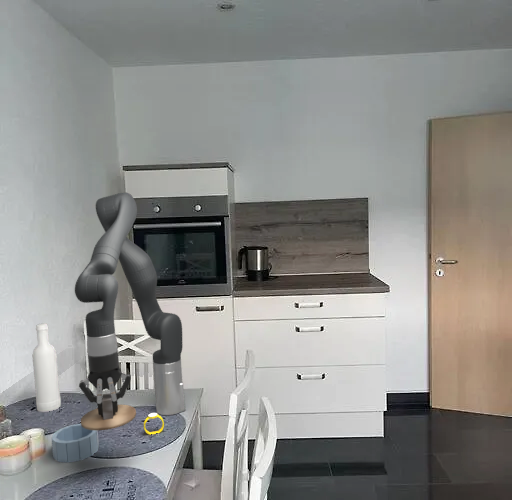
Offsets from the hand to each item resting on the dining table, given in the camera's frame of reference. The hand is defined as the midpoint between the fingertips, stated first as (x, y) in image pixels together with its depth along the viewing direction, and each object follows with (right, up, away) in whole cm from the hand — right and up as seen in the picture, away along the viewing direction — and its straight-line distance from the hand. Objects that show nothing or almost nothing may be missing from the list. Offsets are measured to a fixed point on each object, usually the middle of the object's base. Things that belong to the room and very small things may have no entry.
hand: (108, 414), depth 130 cm
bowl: (-12, -14, +10) cm, 21 cm away
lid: (0, -1, 0) cm, 1 cm away
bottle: (-34, -13, +44) cm, 57 cm away
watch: (+8, -12, +20) cm, 24 cm away
